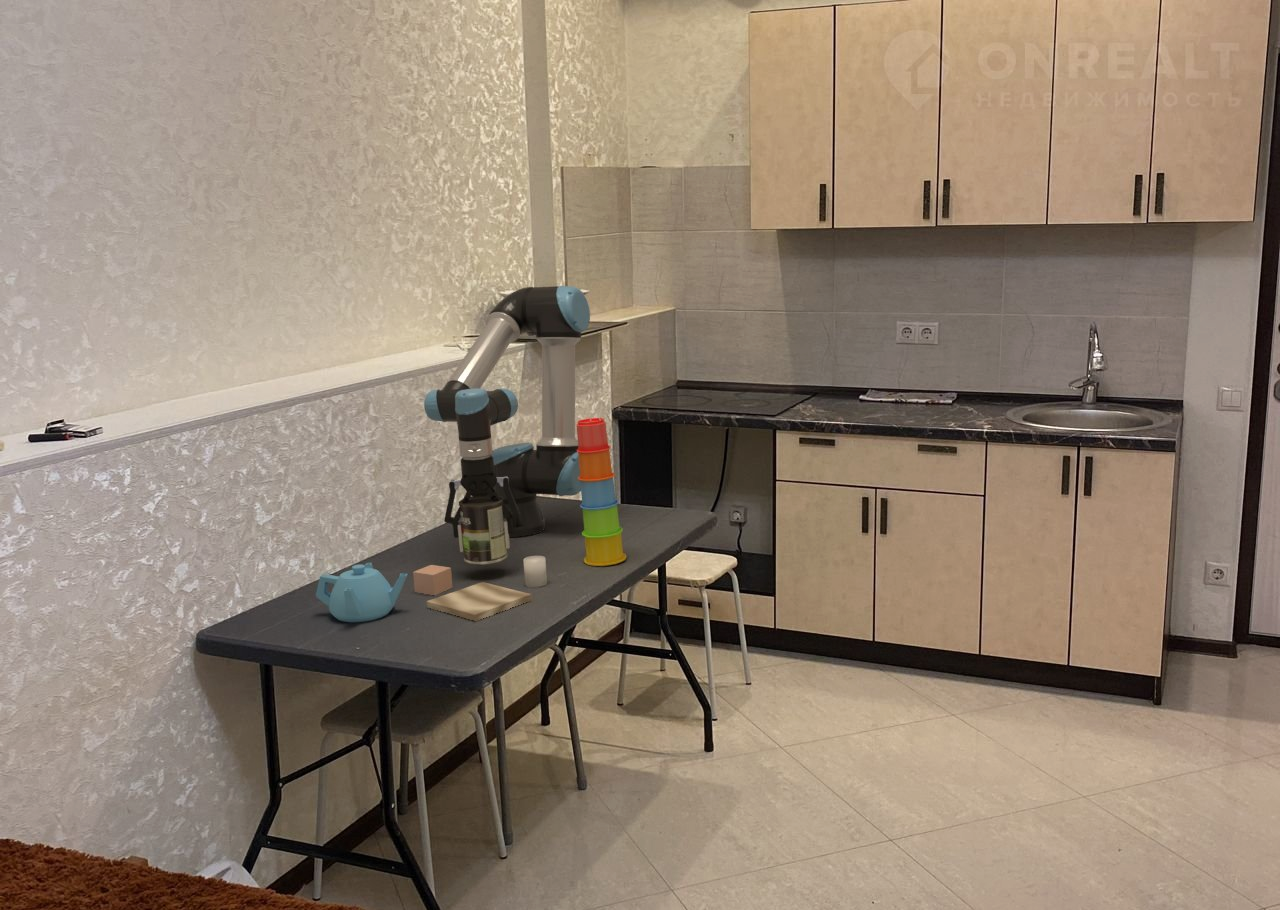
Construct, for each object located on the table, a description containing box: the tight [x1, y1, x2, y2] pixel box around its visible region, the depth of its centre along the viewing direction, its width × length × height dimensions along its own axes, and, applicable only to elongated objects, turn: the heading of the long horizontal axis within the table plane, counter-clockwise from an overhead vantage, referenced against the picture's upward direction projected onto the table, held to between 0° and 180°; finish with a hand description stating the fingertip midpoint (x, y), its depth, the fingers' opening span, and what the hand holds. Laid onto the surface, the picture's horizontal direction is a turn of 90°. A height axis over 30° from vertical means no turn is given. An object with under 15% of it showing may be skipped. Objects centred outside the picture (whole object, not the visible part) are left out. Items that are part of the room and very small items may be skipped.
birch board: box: [426, 581, 532, 622], centre depth 255 cm, size 16×16×2 cm
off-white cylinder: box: [522, 555, 548, 588], centre depth 267 cm, size 5×5×6 cm
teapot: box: [315, 562, 408, 623], centre depth 252 cm, size 15×15×11 cm
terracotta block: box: [412, 564, 453, 596], centre depth 266 cm, size 6×6×5 cm
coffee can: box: [458, 495, 508, 566], centre depth 274 cm, size 10×10×14 cm
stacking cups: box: [575, 417, 627, 567], centre depth 279 cm, size 10×10×35 cm
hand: (485, 548), depth 275 cm, fingers closed on coffee can, 10 cm apart
